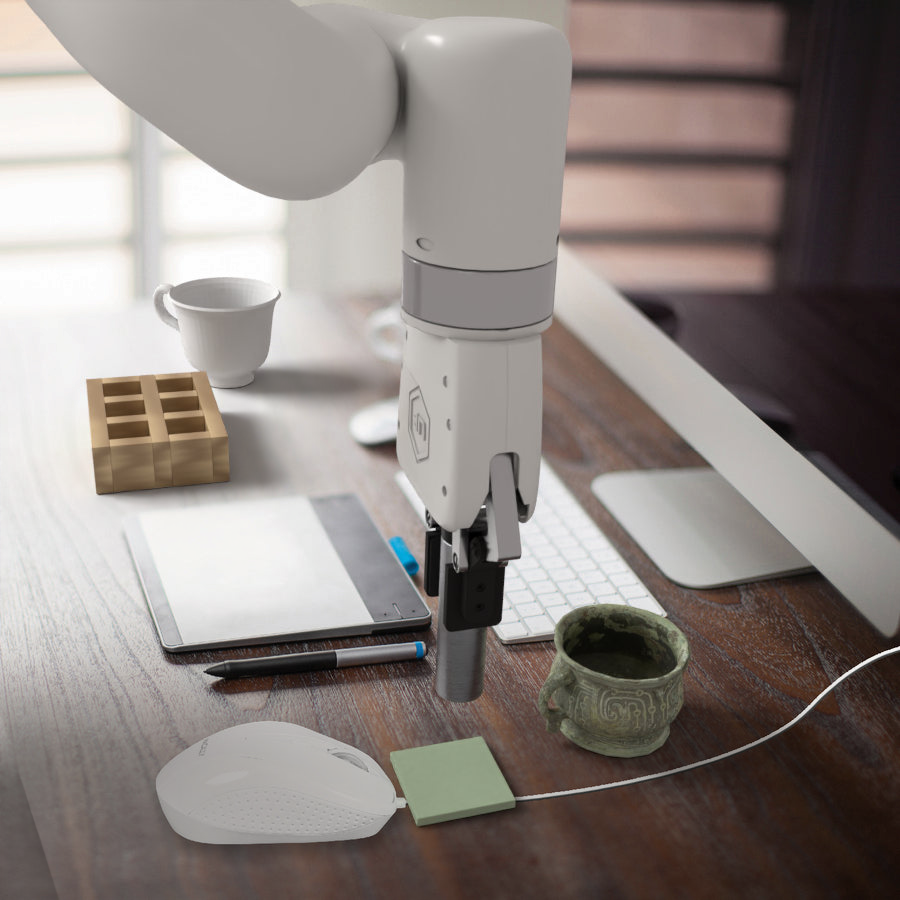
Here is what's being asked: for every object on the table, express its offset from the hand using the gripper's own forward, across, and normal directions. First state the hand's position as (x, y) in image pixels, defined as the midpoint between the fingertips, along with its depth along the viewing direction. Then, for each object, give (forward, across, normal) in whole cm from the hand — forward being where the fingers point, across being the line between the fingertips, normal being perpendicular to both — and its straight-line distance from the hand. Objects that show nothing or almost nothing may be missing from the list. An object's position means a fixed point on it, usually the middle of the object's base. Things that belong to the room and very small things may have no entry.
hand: (461, 606), depth 63 cm
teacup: (+13, -70, -5) cm, 71 cm away
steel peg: (+6, 0, 0) cm, 6 cm away
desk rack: (+12, -52, -13) cm, 55 cm away
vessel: (+13, -3, +12) cm, 18 cm away
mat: (+12, 0, 0) cm, 12 cm away
